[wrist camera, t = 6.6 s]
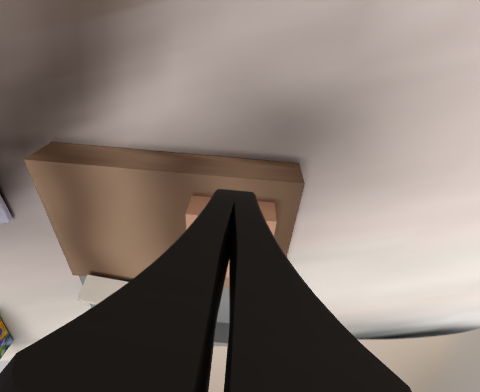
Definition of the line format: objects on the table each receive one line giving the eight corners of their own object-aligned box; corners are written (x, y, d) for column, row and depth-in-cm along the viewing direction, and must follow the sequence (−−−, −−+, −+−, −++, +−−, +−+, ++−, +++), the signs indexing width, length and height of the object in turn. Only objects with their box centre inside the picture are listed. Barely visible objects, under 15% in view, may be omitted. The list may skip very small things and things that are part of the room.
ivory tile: (105, 284, 25) (97, 305, 24) (87, 274, 20) (77, 299, 19) (159, 293, 25) (154, 314, 24) (153, 286, 21) (146, 311, 20)
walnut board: (89, 251, 23) (72, 275, 21) (51, 141, 17) (23, 159, 15) (275, 266, 23) (277, 291, 21) (298, 163, 17) (304, 183, 15)
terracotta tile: (193, 253, 19) (188, 274, 17) (191, 195, 16) (185, 214, 15) (264, 259, 19) (265, 280, 18) (274, 202, 16) (276, 221, 15)
